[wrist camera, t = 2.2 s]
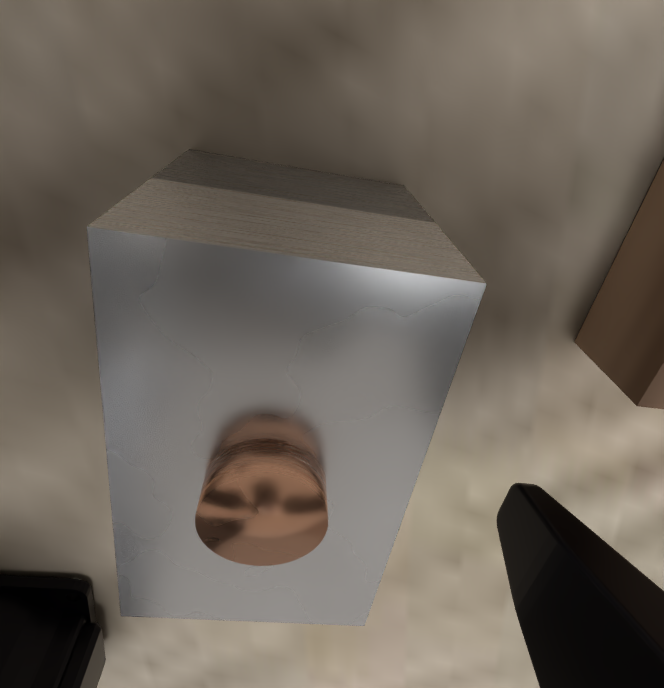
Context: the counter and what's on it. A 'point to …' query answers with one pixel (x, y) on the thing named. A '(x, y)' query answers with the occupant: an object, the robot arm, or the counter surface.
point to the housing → (268, 383)
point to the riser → (633, 308)
